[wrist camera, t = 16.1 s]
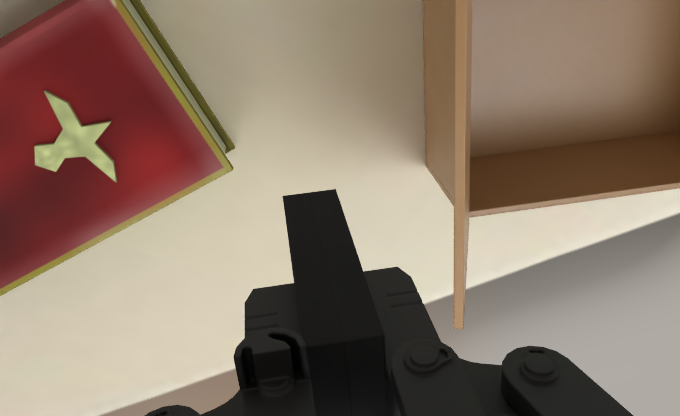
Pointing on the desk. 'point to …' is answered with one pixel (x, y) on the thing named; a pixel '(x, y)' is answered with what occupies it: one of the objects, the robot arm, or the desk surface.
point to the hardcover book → (94, 132)
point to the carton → (557, 100)
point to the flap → (462, 151)
